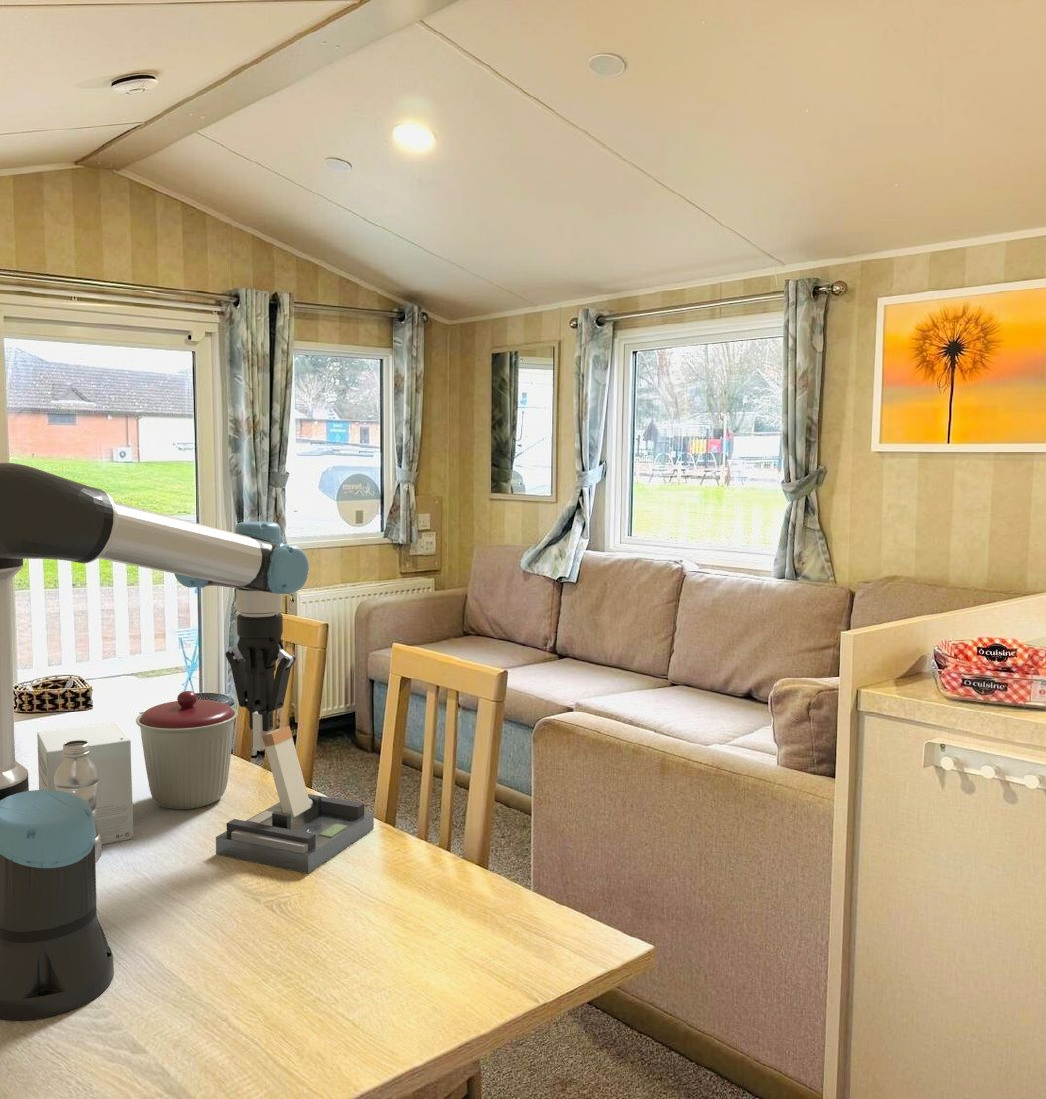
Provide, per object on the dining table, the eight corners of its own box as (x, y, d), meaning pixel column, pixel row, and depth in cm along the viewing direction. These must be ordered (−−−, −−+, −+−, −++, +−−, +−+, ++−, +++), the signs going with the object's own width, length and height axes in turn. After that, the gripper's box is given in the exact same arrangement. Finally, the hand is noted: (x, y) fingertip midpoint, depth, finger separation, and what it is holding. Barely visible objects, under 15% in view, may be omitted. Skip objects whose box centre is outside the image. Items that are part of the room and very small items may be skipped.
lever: (290, 821, 163) (267, 735, 163) (280, 822, 164) (257, 737, 164) (315, 806, 169) (293, 724, 170) (305, 808, 170) (283, 726, 170)
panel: (308, 873, 154) (308, 834, 154) (216, 854, 161) (215, 816, 160) (373, 828, 173) (373, 793, 172) (288, 813, 180) (288, 778, 179)
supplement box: (119, 814, 178) (117, 720, 176) (134, 839, 167) (132, 739, 165) (39, 828, 171) (35, 731, 169) (49, 855, 160) (45, 751, 158)
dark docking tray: (303, 853, 155) (303, 841, 155) (221, 837, 161) (221, 825, 160) (364, 814, 172) (364, 803, 171) (287, 800, 178) (287, 790, 177)
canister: (243, 810, 181) (241, 699, 178) (138, 823, 174) (135, 707, 172) (234, 779, 197) (232, 677, 195) (137, 789, 191) (135, 683, 188)
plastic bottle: (86, 875, 153) (81, 751, 150) (47, 871, 154) (43, 747, 152) (111, 858, 159) (107, 739, 157) (74, 854, 160) (70, 736, 158)
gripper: (305, 612, 167) (306, 747, 169) (242, 606, 171) (244, 737, 174) (278, 619, 160) (280, 759, 162) (213, 613, 165) (216, 749, 167)
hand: (261, 748), depth 168 cm, fingers closed
